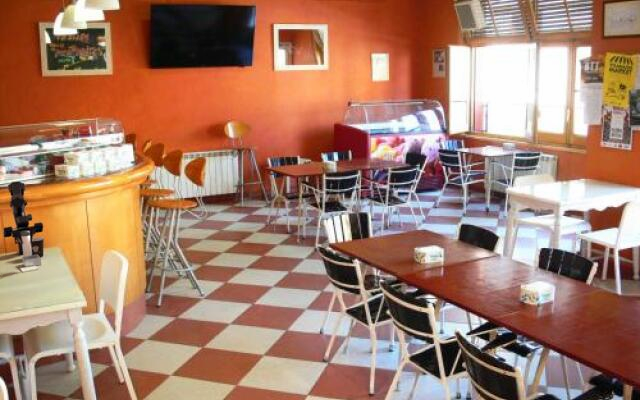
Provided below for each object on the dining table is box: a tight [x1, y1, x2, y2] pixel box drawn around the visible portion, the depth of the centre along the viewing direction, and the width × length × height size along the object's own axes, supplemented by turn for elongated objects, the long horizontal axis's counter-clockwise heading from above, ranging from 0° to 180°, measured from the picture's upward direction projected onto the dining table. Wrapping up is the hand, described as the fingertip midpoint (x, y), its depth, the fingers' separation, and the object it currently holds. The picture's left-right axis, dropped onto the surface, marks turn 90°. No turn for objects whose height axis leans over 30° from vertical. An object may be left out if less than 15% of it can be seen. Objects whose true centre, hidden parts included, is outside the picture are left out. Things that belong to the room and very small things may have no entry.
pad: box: [19, 266, 39, 273], centre depth 340 cm, size 8×8×1 cm
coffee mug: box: [20, 236, 45, 258], centre depth 362 cm, size 12×9×10 cm
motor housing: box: [21, 254, 42, 267], centre depth 348 cm, size 8×8×4 cm
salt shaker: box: [21, 230, 32, 257], centre depth 338 cm, size 4×4×12 cm
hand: (26, 243), depth 337 cm, fingers closed on salt shaker, 4 cm apart
